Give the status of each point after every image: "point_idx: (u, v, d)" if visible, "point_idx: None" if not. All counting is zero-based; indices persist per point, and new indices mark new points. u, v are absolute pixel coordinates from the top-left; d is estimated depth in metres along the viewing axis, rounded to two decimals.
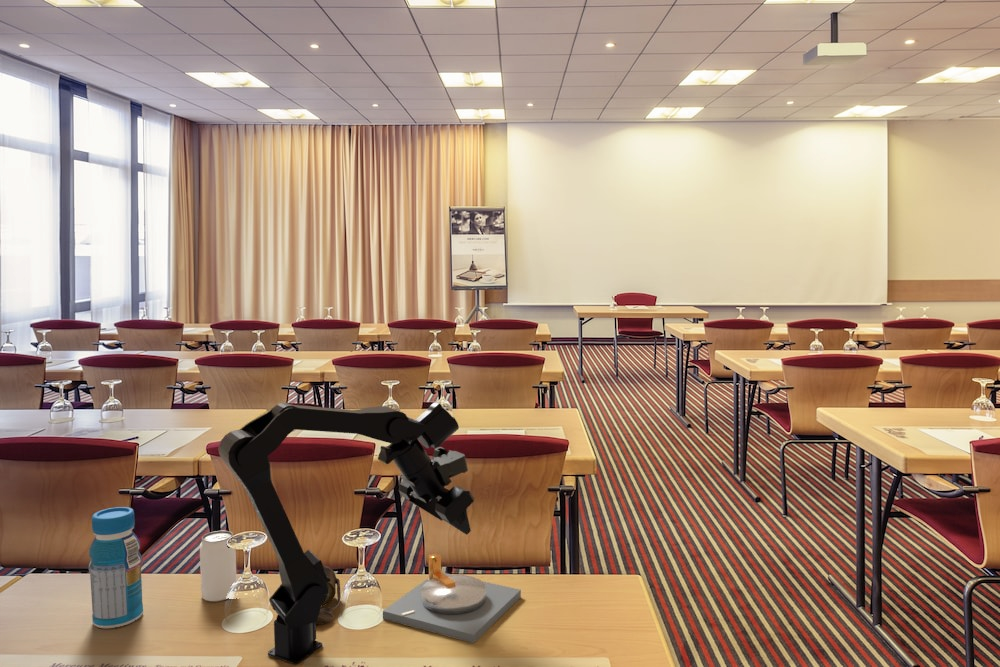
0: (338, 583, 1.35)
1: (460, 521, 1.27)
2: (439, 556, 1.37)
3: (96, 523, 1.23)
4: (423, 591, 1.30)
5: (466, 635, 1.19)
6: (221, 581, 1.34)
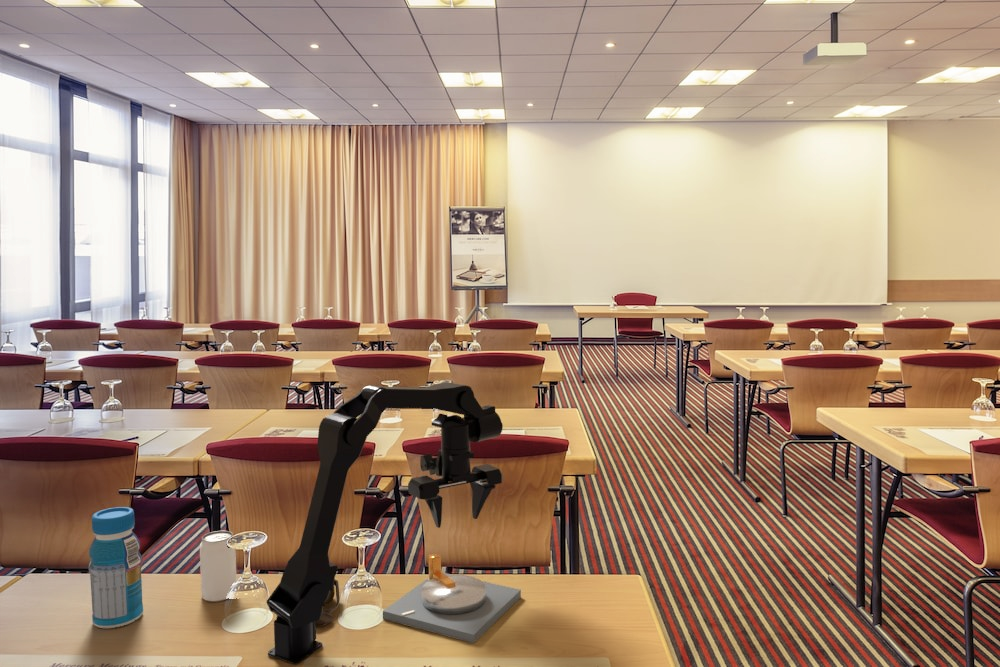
0: (337, 584, 1.34)
1: None
2: (439, 556, 1.37)
3: (96, 523, 1.23)
4: (423, 591, 1.30)
5: (466, 635, 1.19)
6: (221, 581, 1.34)
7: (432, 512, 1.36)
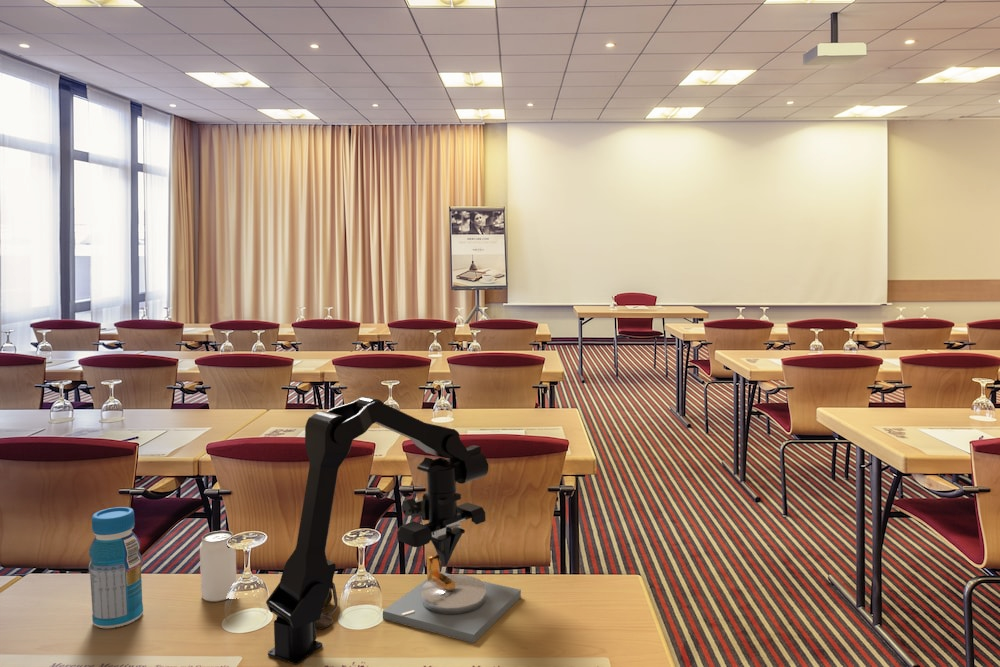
0: (334, 587, 1.33)
1: None
2: (437, 556, 1.37)
3: (96, 523, 1.23)
4: (423, 592, 1.30)
5: (466, 635, 1.19)
6: (221, 581, 1.34)
7: (438, 551, 1.38)
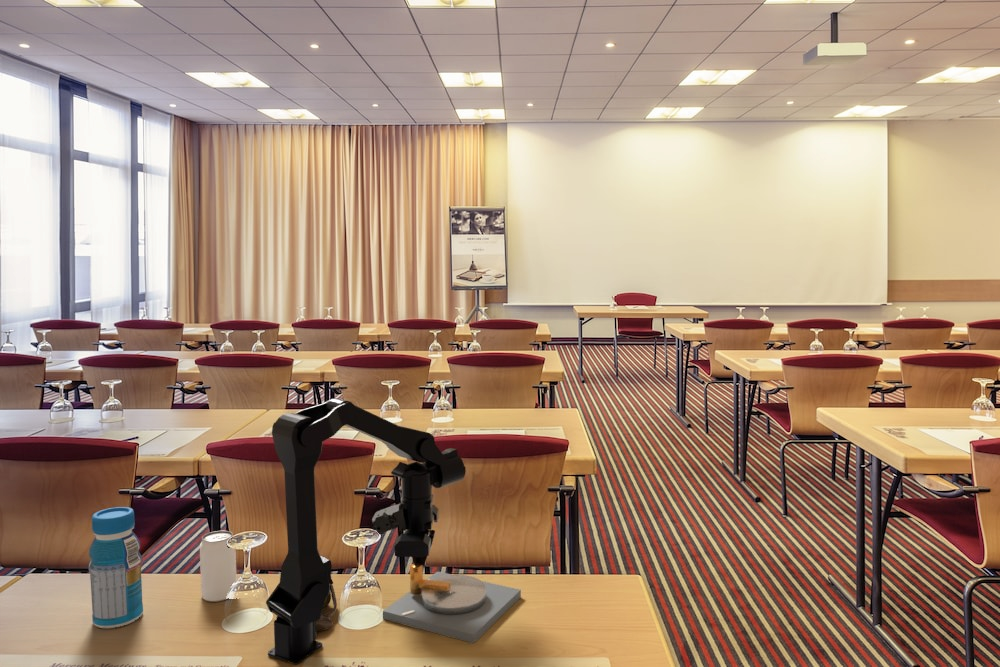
0: (332, 588, 1.32)
1: None
2: (420, 564, 1.33)
3: (96, 523, 1.23)
4: (434, 599, 1.26)
5: (466, 635, 1.19)
6: (221, 581, 1.34)
7: (417, 558, 1.34)
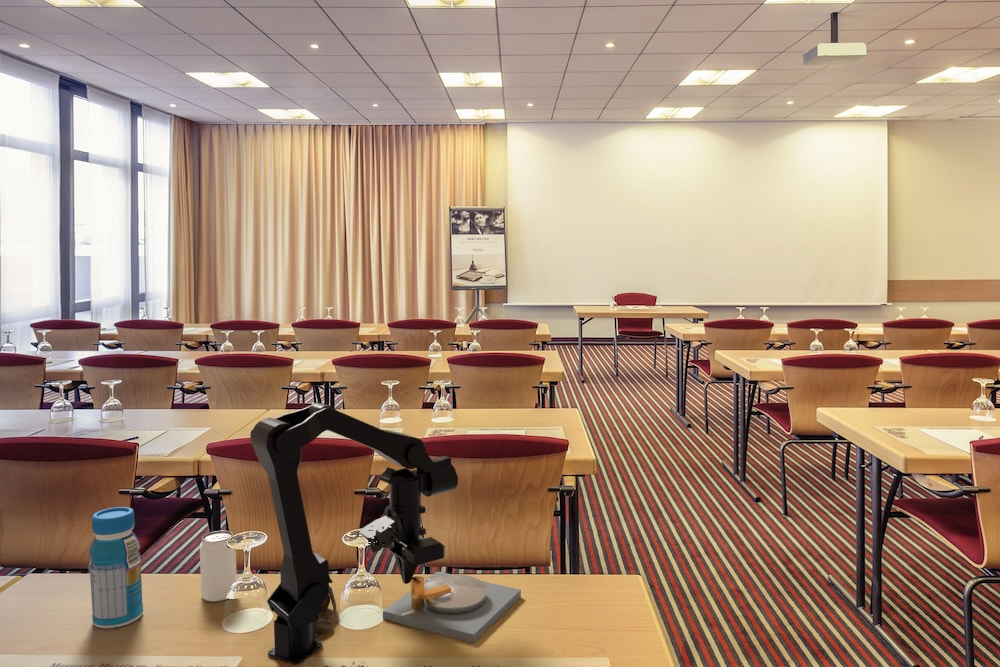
0: (331, 591, 1.32)
1: None
2: (418, 577, 1.28)
3: (96, 523, 1.23)
4: (458, 602, 1.26)
5: (466, 635, 1.19)
6: (221, 581, 1.34)
7: (408, 569, 1.29)
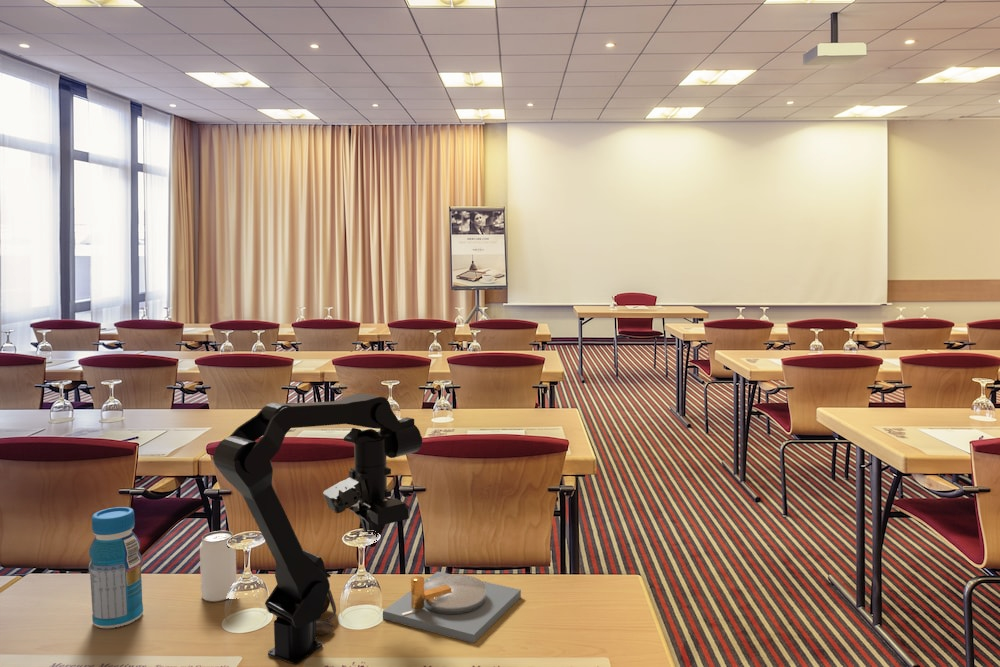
0: (330, 593, 1.31)
1: None
2: (418, 577, 1.28)
3: (96, 523, 1.23)
4: (458, 602, 1.26)
5: (466, 635, 1.19)
6: (221, 581, 1.34)
7: (374, 532, 1.26)
